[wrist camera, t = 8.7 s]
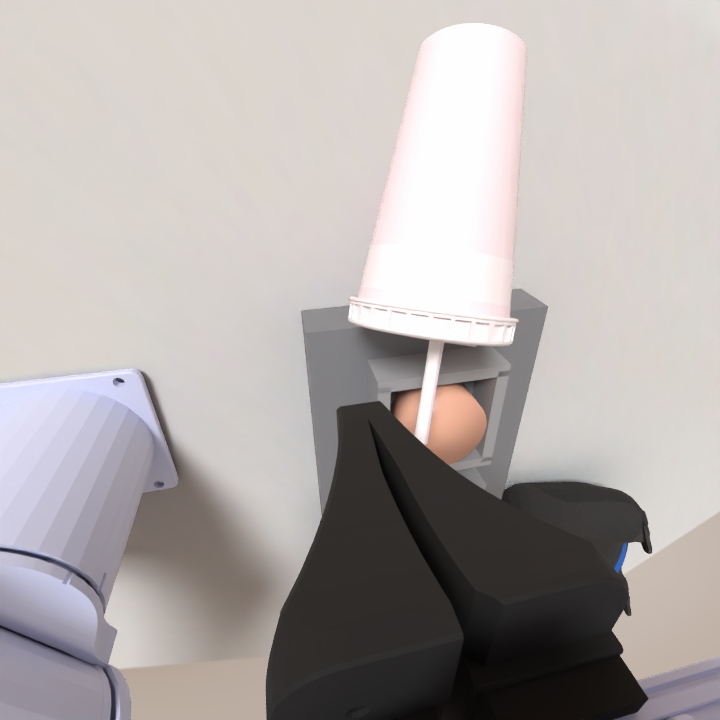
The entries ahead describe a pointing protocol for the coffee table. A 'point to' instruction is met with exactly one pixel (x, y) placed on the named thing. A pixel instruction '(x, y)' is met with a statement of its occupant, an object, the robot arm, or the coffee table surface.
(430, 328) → the smoothie
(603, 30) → the coffee table surface
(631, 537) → the gaming controller
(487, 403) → the button panel
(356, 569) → the robot arm
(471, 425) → the peach button
